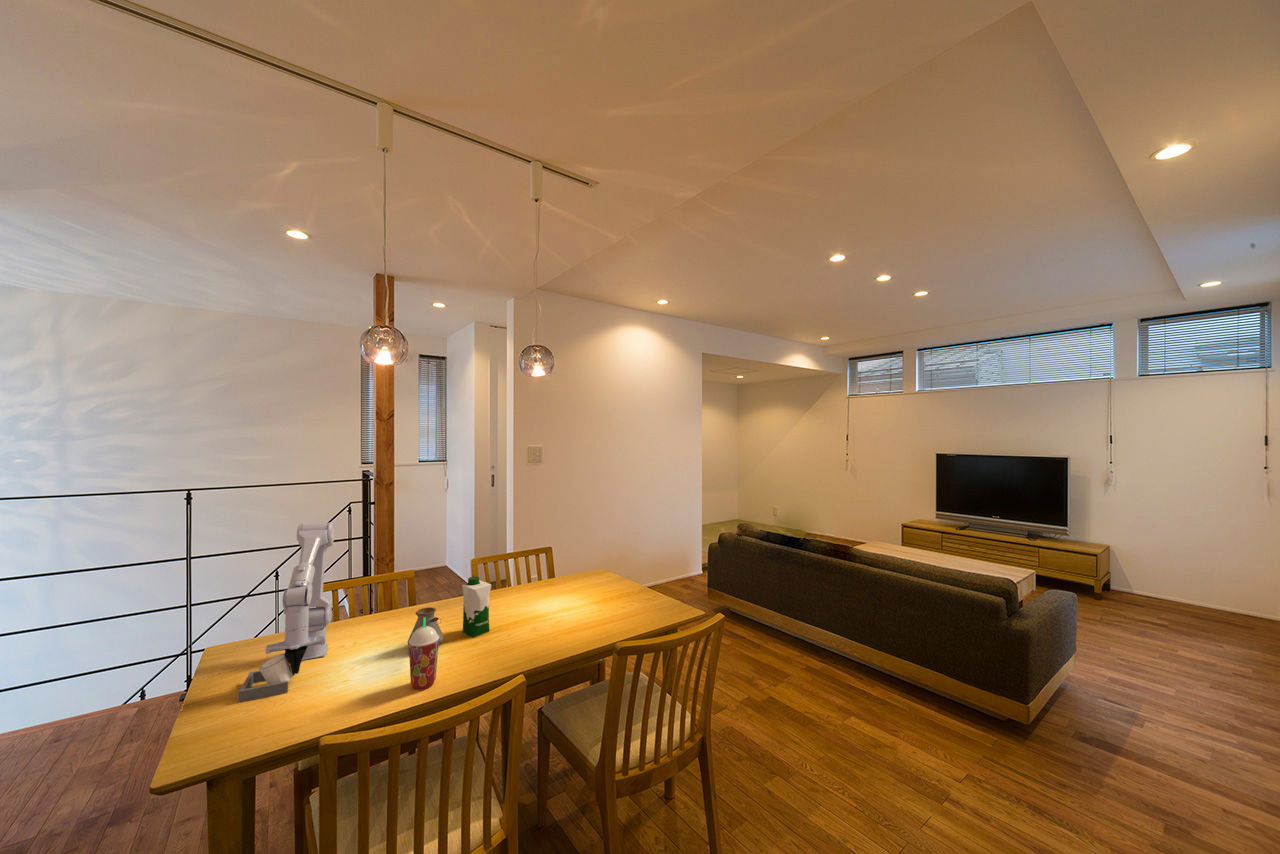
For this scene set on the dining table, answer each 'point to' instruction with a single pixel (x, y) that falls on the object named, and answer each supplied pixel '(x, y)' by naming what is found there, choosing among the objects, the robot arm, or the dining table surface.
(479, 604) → the milk carton
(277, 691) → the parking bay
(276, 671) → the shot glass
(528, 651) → the dining table surface
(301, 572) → the robot arm
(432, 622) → the coffee pot
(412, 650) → the smoothie
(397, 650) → the dining table surface
